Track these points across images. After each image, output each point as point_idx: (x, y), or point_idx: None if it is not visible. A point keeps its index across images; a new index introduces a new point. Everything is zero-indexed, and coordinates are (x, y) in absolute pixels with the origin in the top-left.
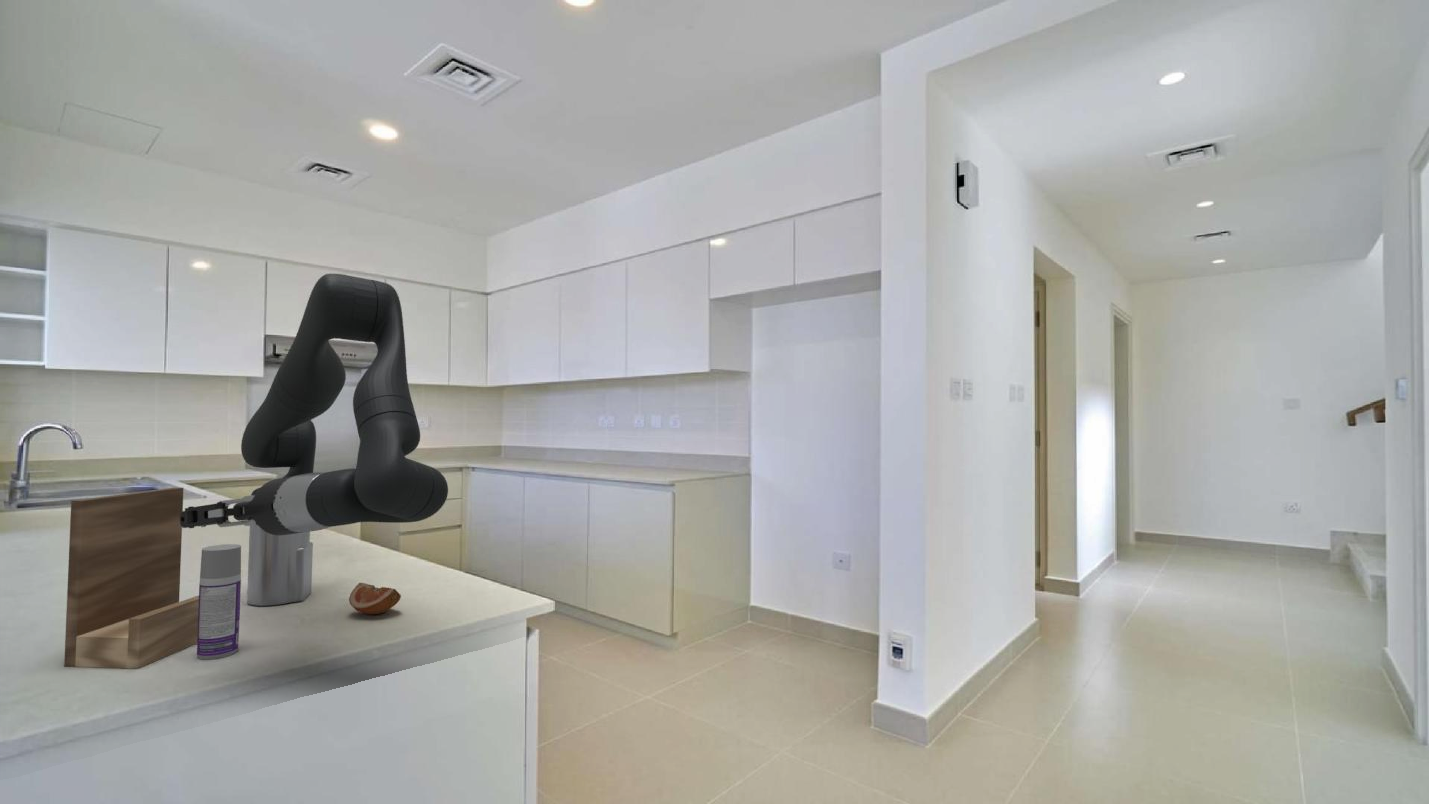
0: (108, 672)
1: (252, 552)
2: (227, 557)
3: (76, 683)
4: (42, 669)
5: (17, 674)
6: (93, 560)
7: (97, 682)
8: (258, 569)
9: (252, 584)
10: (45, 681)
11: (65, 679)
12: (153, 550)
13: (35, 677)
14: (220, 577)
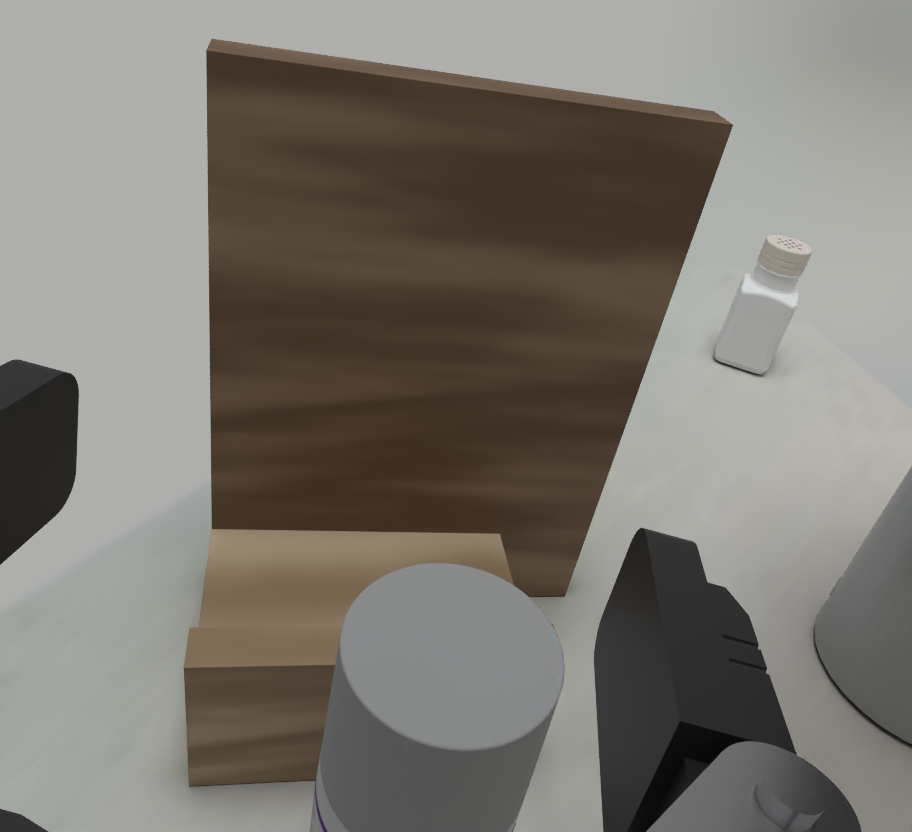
0: (159, 719)
1: (907, 492)
2: (390, 771)
3: (61, 707)
4: (197, 541)
5: (161, 519)
6: (267, 322)
7: (59, 763)
8: (887, 567)
9: (848, 590)
10: (95, 614)
11: (105, 650)
12: (524, 353)
13: (133, 569)
14: (346, 824)
